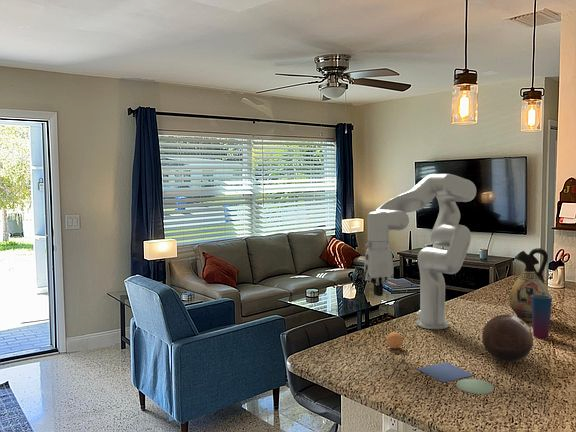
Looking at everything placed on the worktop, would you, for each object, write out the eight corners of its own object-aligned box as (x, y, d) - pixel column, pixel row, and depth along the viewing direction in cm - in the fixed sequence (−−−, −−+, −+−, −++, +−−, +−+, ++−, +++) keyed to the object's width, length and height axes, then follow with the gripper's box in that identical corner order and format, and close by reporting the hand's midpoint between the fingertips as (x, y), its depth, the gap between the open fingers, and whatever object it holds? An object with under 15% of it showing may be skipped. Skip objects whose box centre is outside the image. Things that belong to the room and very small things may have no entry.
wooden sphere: (535, 372, 153) (536, 323, 152) (482, 366, 159) (482, 319, 157) (530, 355, 167) (530, 311, 166) (481, 351, 173) (482, 308, 172)
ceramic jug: (509, 322, 205) (510, 249, 203) (508, 313, 219) (509, 244, 217) (556, 326, 199) (558, 251, 197) (552, 316, 213) (554, 245, 211)
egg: (383, 347, 179) (383, 331, 178) (396, 344, 181) (396, 329, 181) (393, 351, 174) (393, 335, 173) (406, 349, 176) (406, 333, 175)
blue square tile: (416, 369, 158) (416, 368, 158) (446, 362, 163) (446, 362, 163) (443, 383, 147) (443, 382, 147) (474, 375, 152) (474, 374, 152)
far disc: (448, 383, 146) (448, 382, 146) (474, 377, 150) (474, 376, 150) (474, 396, 137) (474, 396, 137) (501, 389, 141) (501, 388, 141)
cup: (553, 339, 183) (554, 299, 182) (533, 338, 184) (534, 298, 183) (547, 334, 190) (548, 294, 188) (528, 333, 191) (529, 294, 190)
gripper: (366, 248, 177) (367, 299, 178) (401, 245, 183) (401, 295, 184) (355, 245, 183) (355, 295, 185) (388, 242, 190) (388, 291, 191)
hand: (378, 295), depth 184 cm, fingers closed
